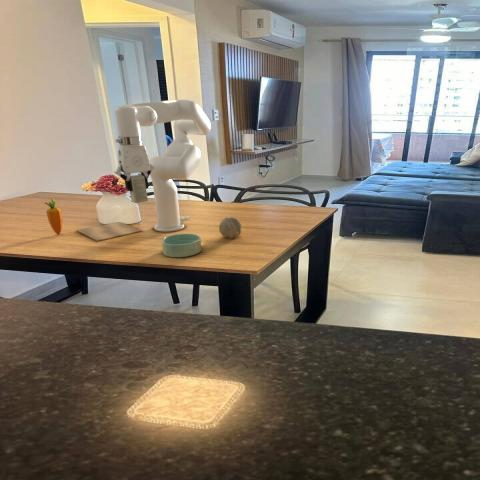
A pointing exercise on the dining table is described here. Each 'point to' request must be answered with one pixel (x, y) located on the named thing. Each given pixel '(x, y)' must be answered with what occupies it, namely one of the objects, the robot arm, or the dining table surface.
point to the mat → (108, 231)
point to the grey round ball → (230, 227)
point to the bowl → (181, 245)
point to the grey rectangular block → (138, 189)
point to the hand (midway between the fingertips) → (137, 188)
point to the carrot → (54, 217)
